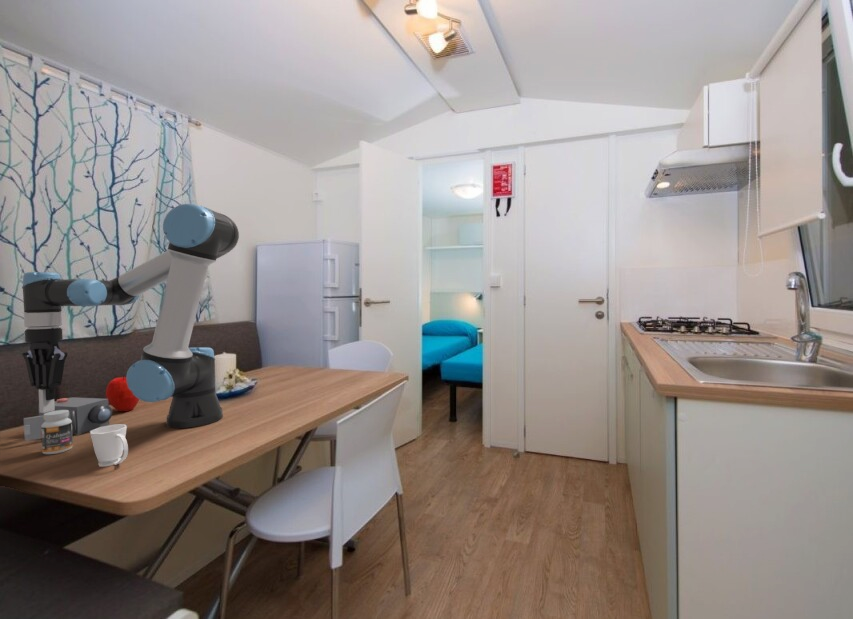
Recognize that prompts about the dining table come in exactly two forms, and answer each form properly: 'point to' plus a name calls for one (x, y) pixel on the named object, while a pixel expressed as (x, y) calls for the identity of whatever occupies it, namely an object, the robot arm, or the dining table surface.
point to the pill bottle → (56, 432)
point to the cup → (110, 444)
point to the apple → (120, 395)
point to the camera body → (85, 412)
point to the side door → (34, 426)
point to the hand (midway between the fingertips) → (47, 411)
